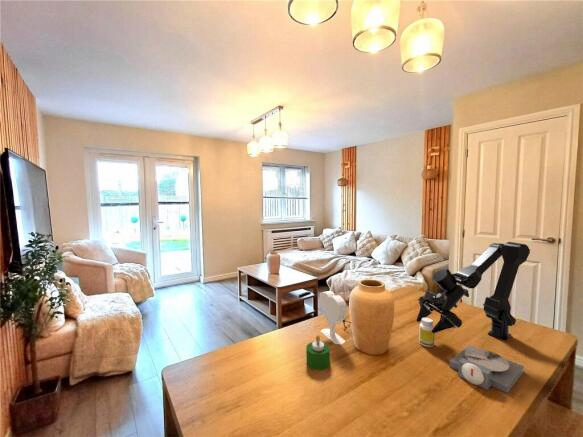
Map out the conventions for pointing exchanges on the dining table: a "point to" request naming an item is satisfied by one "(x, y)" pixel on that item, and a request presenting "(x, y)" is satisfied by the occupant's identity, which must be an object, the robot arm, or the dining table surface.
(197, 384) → the dining table surface
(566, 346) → the dining table surface
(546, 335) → the dining table surface
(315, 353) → the candle
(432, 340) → the supplement bottle
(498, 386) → the scale housing
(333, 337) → the heart sculpture
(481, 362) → the scale pan
